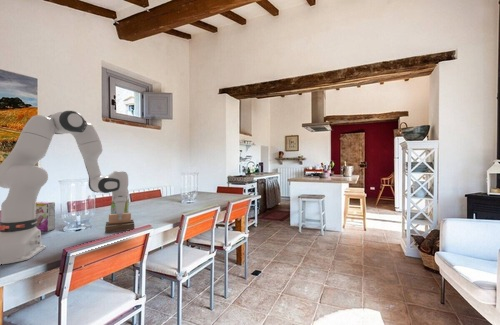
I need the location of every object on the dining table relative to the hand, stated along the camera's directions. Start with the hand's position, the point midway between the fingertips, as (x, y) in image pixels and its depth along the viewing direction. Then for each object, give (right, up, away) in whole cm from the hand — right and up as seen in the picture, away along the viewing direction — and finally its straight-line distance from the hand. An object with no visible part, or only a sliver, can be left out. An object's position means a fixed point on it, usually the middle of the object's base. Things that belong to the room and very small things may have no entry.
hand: (120, 219), depth 147 cm
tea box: (-10, -5, +18) cm, 21 cm away
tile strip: (0, -3, 0) cm, 3 cm away
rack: (+1, -5, -2) cm, 6 cm away
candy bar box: (-42, -5, -7) cm, 43 cm away
